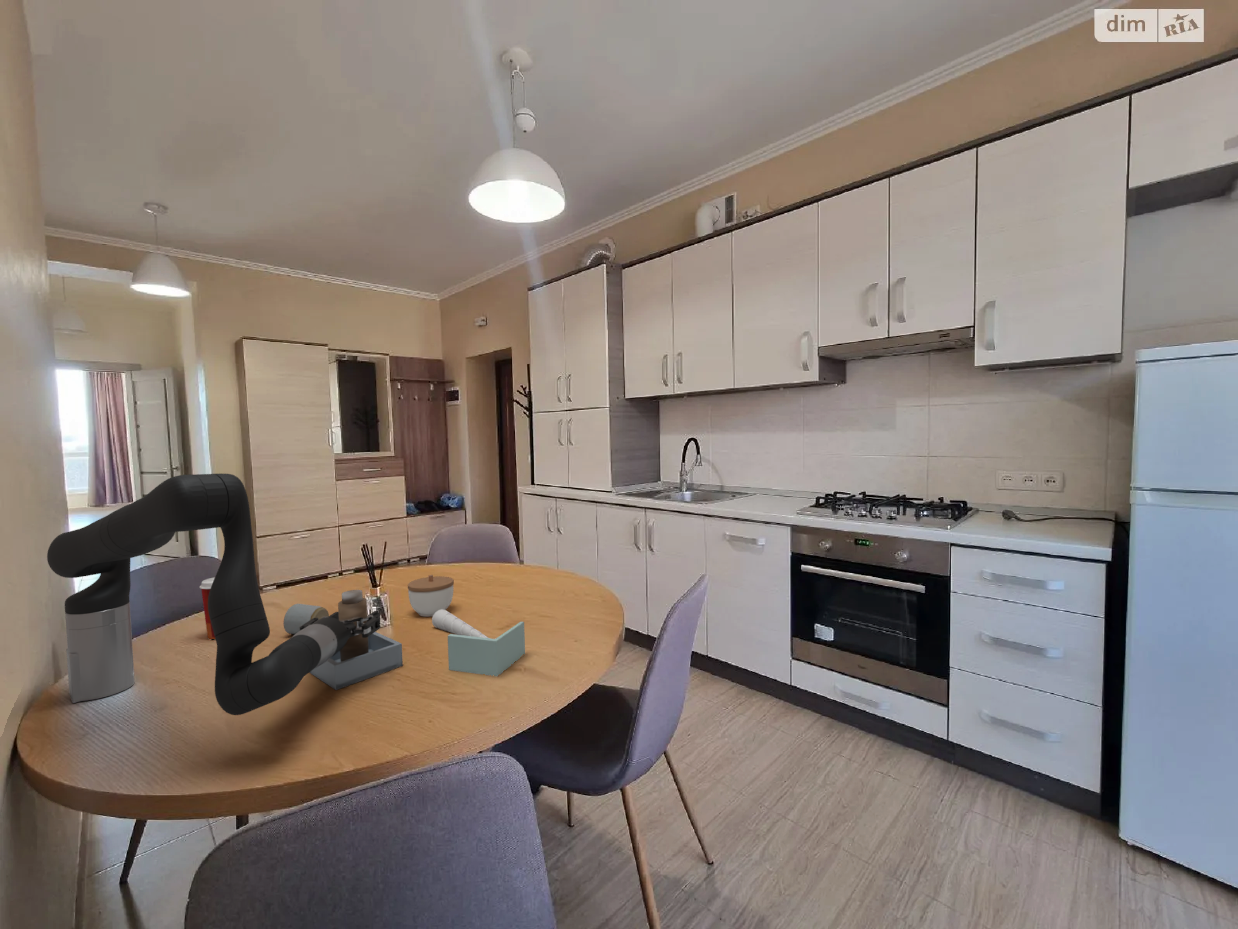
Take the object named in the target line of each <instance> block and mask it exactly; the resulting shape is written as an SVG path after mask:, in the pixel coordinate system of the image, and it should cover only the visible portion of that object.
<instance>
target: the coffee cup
mask: <svg viewBox="0 0 1238 929" xmlns="http://www.w3.org/2000/svg"><path fill="white" fill-rule="evenodd" d="M214 578H215V577H211V578H206V579H204V580H202V581H201V584H200V585H199V589H200V590H201V596H202V606H203V612H204V613H203V614H204V620H205V628H206V634H207V639H208V638H209V639H215V636H214V632H213V628H212V624H211V620H210V617H209V612H208V596H209V592H210V589H211V586H212V583H213V581H214ZM209 639H208V640H209Z"/></svg>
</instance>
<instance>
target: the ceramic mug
mask: <svg viewBox="0 0 1238 929" xmlns="http://www.w3.org/2000/svg"><path fill="white" fill-rule="evenodd" d="M325 616H326V617H328V616H330V614H329V611H328V610H327V608H325V607H324V606H320V605H311V604H306V603H305V604H303V603H295V604H293V605H292V606H290V607H289V608H288V609H287V610H286V612H285V615H284V618H283V628H284V631H285V632H286V633H287V634H289V635H295V634H296V633H298V632H299V631H300V626H302V625H304V624H305V623H307V622H308V621H310V620H311V619H313V618H318V620H319V619H321V618H323V617H325Z"/></svg>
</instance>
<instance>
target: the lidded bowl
mask: <svg viewBox="0 0 1238 929" xmlns="http://www.w3.org/2000/svg"><path fill="white" fill-rule="evenodd" d="M407 589H408V591H407V592H408V599H409V603H410V607H411V608H412V609H413V610H414V611H415V612H416V613H417V614H418V616H420V617H423V618H425V617H427V618H428V617H433V615H434V614H435V612H437V611H438V610H441V609H443V610H446V611H447V609H448V608H449V607H450V605H451V603H452V601H453V596H454V578H452V577H449V576H445V575H442V576H438V575H437V576H434V575H433V574H428V576H427V577H421V578H417V579H414V580H411V581H409V583H407Z"/></svg>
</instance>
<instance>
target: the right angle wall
mask: <svg viewBox="0 0 1238 929" xmlns="http://www.w3.org/2000/svg"><path fill="white" fill-rule="evenodd" d="M525 639H526V637H525V621H519V622H518V623H517V624H515V625H514V626H512V627H511V628H509V629H508V630H506V631H505V632H504V633H502V634H501V635H499V636H498V637H495V638H490V637H488V638H482V637H473V636H464V635H457V634H454V633H450V634H448V635H447V657H448V658H447V659H448V661H447V662H448V670H449V671H456V672H462V673H471V674H477V675H483V674H485V676H490V675H491V677H499V676H500V675H502V674H503V671H504V670H505V671H506V670H507V669H508V668H510V667H511V666H512V665H513V664H515V663H516V662H517V661H518V660H519V659H521V658H522V657H523V656H524V655H525V654H526V643H525V642H526V640H525ZM523 654H524V655H523ZM522 655H523V656H522ZM521 656H522V657H521ZM520 657H521V658H520ZM515 661H516V662H515ZM514 662H515V663H514ZM511 664H512V665H511ZM499 674H500V675H499ZM493 675H494V676H493ZM498 675H499V676H498Z"/></svg>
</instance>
